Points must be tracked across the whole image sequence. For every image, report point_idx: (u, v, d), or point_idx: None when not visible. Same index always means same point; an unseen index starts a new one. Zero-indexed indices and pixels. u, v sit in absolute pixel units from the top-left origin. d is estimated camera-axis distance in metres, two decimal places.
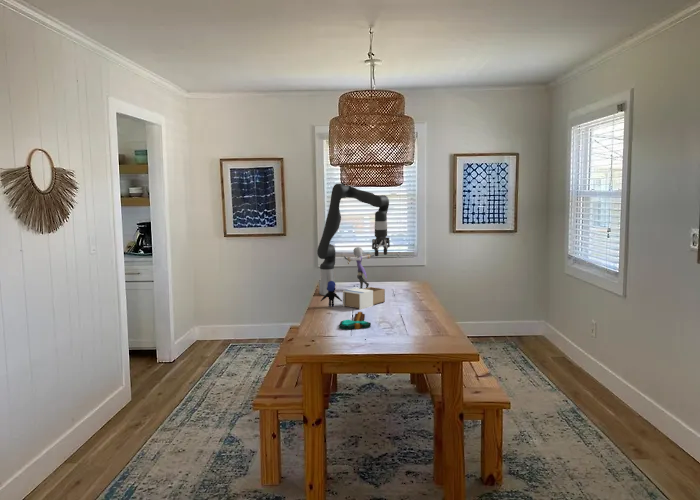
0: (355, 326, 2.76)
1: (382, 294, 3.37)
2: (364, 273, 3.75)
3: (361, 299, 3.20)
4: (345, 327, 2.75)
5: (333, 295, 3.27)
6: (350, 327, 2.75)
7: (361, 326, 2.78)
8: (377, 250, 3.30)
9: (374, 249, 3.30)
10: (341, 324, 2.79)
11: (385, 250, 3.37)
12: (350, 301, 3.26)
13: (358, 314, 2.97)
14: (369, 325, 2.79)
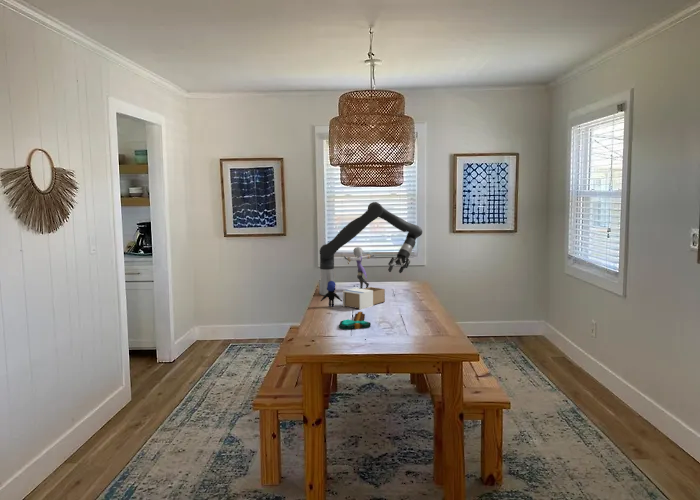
0: (355, 326, 2.77)
1: (382, 294, 3.37)
2: (364, 273, 3.75)
3: (361, 299, 3.20)
4: (345, 327, 2.76)
5: (333, 295, 3.27)
6: (350, 327, 2.75)
7: (361, 326, 2.78)
8: None
9: (403, 267, 3.51)
10: (341, 324, 2.79)
11: (391, 268, 3.58)
12: (350, 301, 3.26)
13: (358, 314, 2.97)
14: (369, 325, 2.79)
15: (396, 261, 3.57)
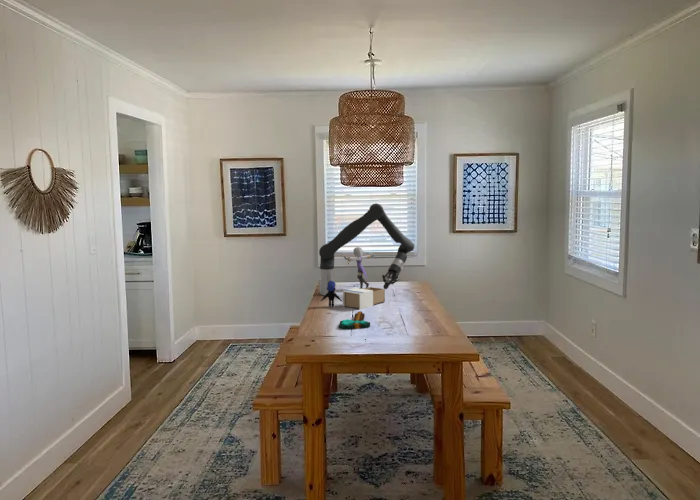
0: (355, 326, 2.77)
1: (382, 294, 3.37)
2: (364, 273, 3.75)
3: (361, 299, 3.20)
4: (345, 327, 2.76)
5: (333, 295, 3.27)
6: (350, 327, 2.76)
7: (361, 326, 2.78)
8: (388, 285, 3.50)
9: (389, 283, 3.48)
10: (341, 324, 2.80)
11: None
12: (350, 301, 3.26)
13: (358, 314, 2.98)
14: (369, 325, 2.79)
15: (389, 276, 3.52)
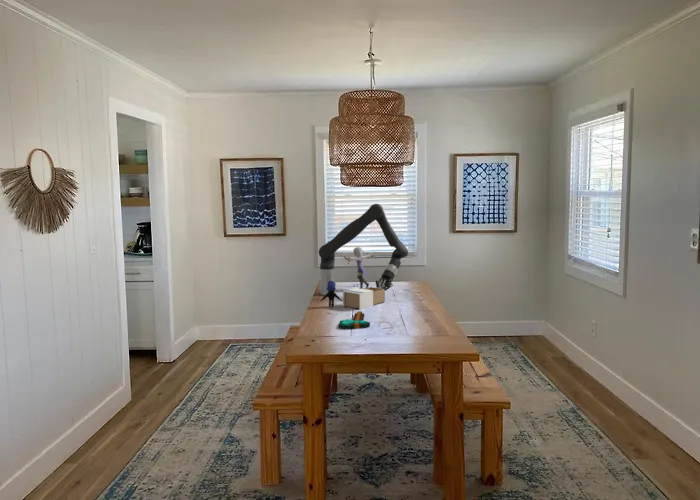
0: (354, 325, 2.78)
1: (382, 294, 3.37)
2: (364, 273, 3.75)
3: (361, 299, 3.20)
4: (344, 326, 2.77)
5: (333, 295, 3.27)
6: (349, 326, 2.76)
7: (360, 325, 2.79)
8: None
9: None
10: (340, 323, 2.80)
11: None
12: (350, 301, 3.26)
13: (357, 314, 2.98)
14: (368, 325, 2.80)
15: (382, 282, 3.47)
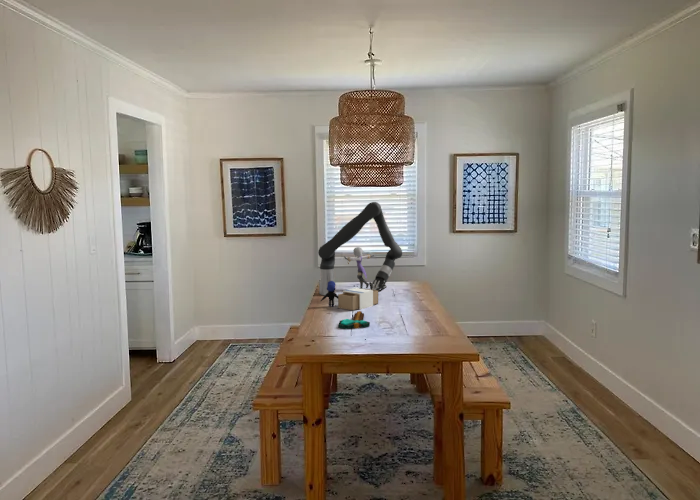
0: (354, 325, 2.78)
1: (376, 296, 3.33)
2: (364, 273, 3.75)
3: (361, 299, 3.20)
4: (344, 326, 2.77)
5: (333, 295, 3.27)
6: (349, 326, 2.77)
7: (360, 325, 2.79)
8: None
9: None
10: (340, 323, 2.80)
11: None
12: (343, 303, 3.21)
13: (357, 313, 2.98)
14: (368, 324, 2.80)
15: (376, 283, 3.42)
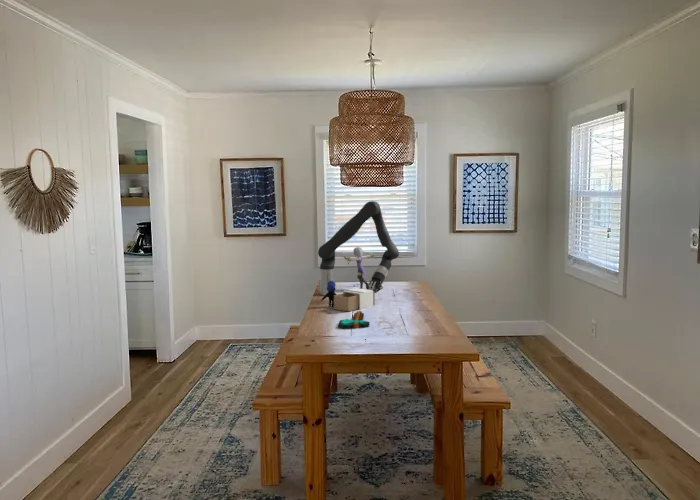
0: (354, 325, 2.78)
1: None
2: (364, 273, 3.75)
3: (361, 299, 3.20)
4: (344, 326, 2.77)
5: (333, 295, 3.27)
6: (349, 326, 2.77)
7: (360, 325, 2.79)
8: None
9: None
10: (340, 323, 2.81)
11: None
12: (339, 304, 3.18)
13: (357, 313, 2.99)
14: (368, 324, 2.80)
15: (372, 284, 3.39)
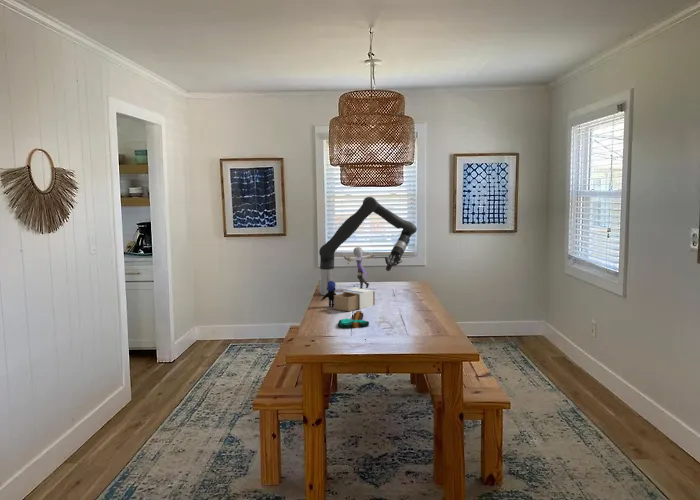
0: (353, 325, 2.79)
1: None
2: (364, 273, 3.75)
3: (361, 299, 3.20)
4: (343, 326, 2.78)
5: (333, 295, 3.27)
6: (348, 326, 2.78)
7: (359, 325, 2.80)
8: None
9: (392, 264, 3.49)
10: (339, 323, 2.81)
11: None
12: (339, 304, 3.18)
13: (357, 313, 2.99)
14: (367, 324, 2.81)
15: (391, 258, 3.52)
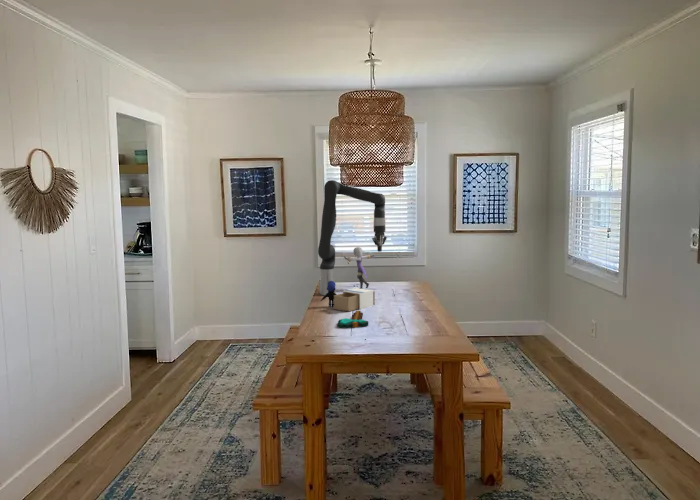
0: (353, 325, 2.79)
1: None
2: (364, 273, 3.75)
3: (361, 299, 3.20)
4: (343, 326, 2.79)
5: (333, 295, 3.27)
6: (348, 326, 2.78)
7: (359, 325, 2.81)
8: (380, 246, 3.56)
9: (377, 245, 3.56)
10: (339, 323, 2.82)
11: None
12: (339, 304, 3.18)
13: (356, 313, 3.00)
14: (367, 324, 2.82)
15: None
